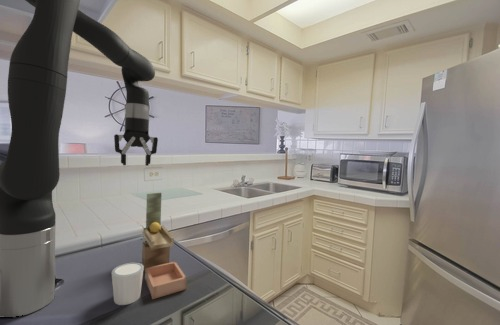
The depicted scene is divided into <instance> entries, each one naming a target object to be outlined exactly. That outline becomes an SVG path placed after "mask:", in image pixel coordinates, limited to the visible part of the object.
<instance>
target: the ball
mask: <svg viewBox="0 0 500 325" xmlns="http://www.w3.org/2000/svg"><path fill="white" fill-rule="evenodd" d="M160 227H161V226H160V224H159V223H157V222H154V223H152V224H151V225H150V231H151V232H153V233H156V232H158V231H159V230H160Z"/></svg>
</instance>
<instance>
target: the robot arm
mask: <svg viewBox="0 0 500 325" xmlns="http://www.w3.org/2000/svg"><path fill="white" fill-rule="evenodd" d="M25 1H26V2H27V3H28V4H29V5H31V6H32V7H34V8H35V9H34V12H33V17H32V19H31V22H30V23H29V25H28V27H27V28H26V30H25V31H24V33H23V34H22V35H21V37H20V38H19V40H17V43H16V44H15V47H14V48H13V50H12V52H11V55H10V59H9V64H8V65H9V66H8V73H7V74H8V75H7V100H8V101H7V102H8V108H9V115H10V121H11V125H10V126H11V134H10V140H9V145H8V150H7V154H6V158H5V160H3V161H2V162H1V163H0V316H4V317H13V318H17V317H16V316H19V317H23V316H26V315H29V314H31V313H32V314H33V313H35V312H36V311H38V310H41V309H43V308H45V307H46V306H48V305H49V304H51V302H53V300H54V298H55V291H56V290H55V289H56V285H55V284H56V282H55V281H56V216H57V215H56V211H55V208H54V203H53V191H54V190H55V188H56V187H57V186H58V184H59V181H60V155H59V154H60V150H59V146H60V145H59V142H60V140H59V137H60V128H61V125H62V119H63V114H64V108H65V107H64V106H65V101H66V95H67V94H66V93H67V86H68V70H69V69H68V68H69V60H70V53H71V44H72V38H73V33H74V34H76V35H77V36H79V37H80V38H82V39H83V40H84V41H86V42H87V43H88V44H90V45H91V46H93V47H94V48H95V49H97V50H98V52H100V53H102V55H104V56H105V57H106V58H107V59H109V61H111V62H112V63H113V64H114V65H116V66H117V67H120V68H121V76H122V79H123V83H124V87H125V91H126V96H125V97H126V99H125V101H126V104H125V105H126V106H125V110H124V111H125V112H124V133H123V134H118V133H117V134H114V135H113V138H114V151H115V153H119V154H120V163H121V164H122V166H126V165H127V154H126V153H127V152H128V150H129V149H130V147H131V148H133V147H134V148H135V147H137V148H142V149H143V150H144V153H146V154H145V166H148V167H149V165H151V159H152V158H151V156H152V155H154V154H155V155H156V153H157V150H158V141H159V139H158V137H157V136H156V137H155V136H150V135H149V128H150V125H149V124H150V110H149V109H150V108H149V102H150V100H149V99H150V98H149V97H150V94H149V91H148V90H147V89H146V88H144V87H140V85H139V82H149V81H152V80H154V78H155V76H156V70H155V68H154V65H153V64H152V62H151V61H150V60H149V59H148V58H146V56H144V55H142V54H141V53H139V52H138V51H136V50H134V49H133V48H131V46H129V45H128V44H127V43H126V42H125V41H124V39H122V38H121V37H120V36H119V35H118V34H117V33H116V32H114V31H113V30H112V29H110V28H109V27H108V26H105V25H104V24H102V23H100V22H99V21H97V20H96V19H93V18H92V17H90V16H89V15H87V14H86V13H85V12H82V11H81V10H80V9H79V7H80V1H81V0H25ZM122 139H123V140H124V141H125V142H126V143H125V145H124V146H123V148H122V149H121V148H120V142H121V141H122ZM149 141H150V143H151V144H152V145H151V150H150V148H149V145H147V143H148V142H149ZM22 315H23V316H22Z"/></svg>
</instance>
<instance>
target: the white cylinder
mask: <svg viewBox="0 0 500 325" xmlns="http://www.w3.org/2000/svg"><path fill="white" fill-rule="evenodd" d="M143 276H144V266H143V265H142V263H140V262H127V263H123V264H120V265H118V266H116V267H114V268H113V269H112V270H111V282H112V293H113V301H114V304H116V305H117V306H126V305H130V304H133V303H135V302H136V301H138V300H139V299H140V298H141V295H142V294H141V291H142V287H143V286H142V284H143V278H144V277H143Z"/></svg>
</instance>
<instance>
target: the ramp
mask: <svg viewBox="0 0 500 325" xmlns="http://www.w3.org/2000/svg"><path fill="white" fill-rule="evenodd" d="M145 208H146V210H145V212H146V216H145V217H146V218H145V227H143V229H142V231H141V233H142V235H143V237H144V239H145V241H147V243H148V245H149V247H150V248H151V250H153V249H158V248H163V247H169V246H170V247H173V246H174V243H175V237H174V236H173V235H172V234H171V233H170V231H169V230H167V228H166V227H165V226H164V225H161V224H162V223H161V221H162V220H161V218H162V216H161V215H162V192H147V193H146V207H145ZM154 222H157V223H159V224H160V230H159V231H158V232H156V233H153V232H151V231H150V225H151V224H152V223H154Z"/></svg>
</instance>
